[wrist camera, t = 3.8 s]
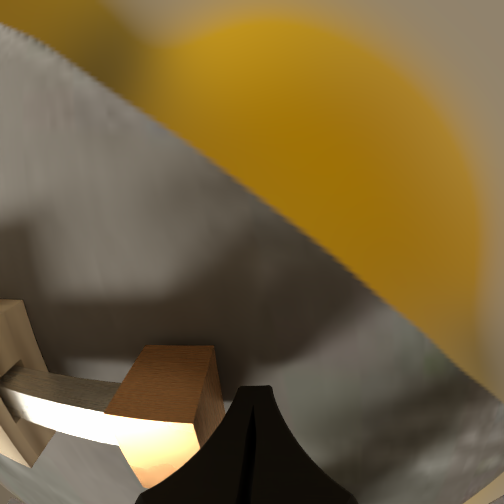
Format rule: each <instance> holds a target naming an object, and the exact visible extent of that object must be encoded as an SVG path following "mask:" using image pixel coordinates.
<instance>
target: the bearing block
mask: <svg viewBox="0 0 504 504" xmlns="http://www.w3.org/2000/svg"><path fill="white" fill-rule="evenodd" d="M13 365H17V366H21V367H26V368H30V369H35V370H40V371H44V372H48V370H47V367H46V365H45V362H44V360H43V358H42V355H41V352H40V350H39V347H38V345H37V342H36V339H35V336H34V334H33V331H32V328H31V325H30V322H29V319H28V316H27V312H26V309H25V306H24V302H23V300H11V299H0V378H1V377H2V376H3V375H4V374H5V373H6V372H7V371H8V370H9V369H10V368H11V367H12V366H13ZM56 431H57V430H54V429H51V428H48V427H44V426H41V425H38V424H35V423H32V422H30V421H27V420H24V419H21V418H19V417H16V416H14V415H11V414H10V413H9V412H8V410H7V408H6V406H5V405H4V403H3V401H2V399H1V397H0V453H1V454H3V455H5V456H7V457H9V458H11V459H13V460H15V461H17V462H19V463H21V464H23V465H25V466H27V467H29V468H32V466H33V465H34V463H35V462H36V460H37V459H38V457H39V456H40V454H41V453H42V451H43V450H44V448H45V447H46V445H47V444H48V442H49V441H50V440H51V438H52V437H53V435H54V434H55V432H56Z"/></svg>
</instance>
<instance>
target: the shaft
mask: <svg viewBox="0 0 504 504" xmlns="http://www.w3.org/2000/svg"><path fill="white" fill-rule="evenodd" d="M0 397H1V399H2V401H3V403H4V405H5V406H6V408H7V410H8V412H9V413H10V414H11V415H14V416H16V417H19V418H21V419H24V420H27V421H30V422H32V423H35V424H38V425H41V426H44V427H48V428H51V429H54V430H57V431H61V432H64V433H68V434H71V435H75V436H79V437H83V438H87V439H91V440H95V441H100V442H104V443H109V444H114V445H119V446H120V448H121V450H122V452H123V454H124V455H125V457H126V459H127V461H128V463H129V464H130V466H131V468H132V469H133V471H134V473H135V474H136V476H137V478H138V479H139V481H140V482H141V484H142V486H143V487H145V488H151V487H153V486H155V485H156V484H158V483H160V482H161V481H163V480H164V479H166V478H167V477H168V476H170V475H171V474H172V473H174V472H175V471H176V470H178V469H179V468H180V467H181V466H183V465H184V464H185V463H186V462H187V461H188V460H189V459H190V458H191V457H192V456H193V455H194V454H195V453H197V451H198V450H199V449H200V448H201V447H202V446H203V445H204V444H205V443H206V441H207V440H208V439H209V438H210V436H211V435H212V434H213V432H214V431H215V430H216V428H217V427H218V425H219V424H220V423H221V421H222V419H223V418H224V416H225V409H224V403H223V398H222V392H221V387H220V381H219V375H218V369H217V363H216V356H215V350H214V345H209V346H168V345H145V347H144V348H143V350H142V351H141V353H140V355H139V356H138V358H137V359H136V361H135V362H134V364H133V366H132V367H131V369H130V370H129V372H128V374H127V375H126V377H125V379H124V380H123V382H122V383H116V382H108V381H100V380H92V379H85V378H78V377H72V376H66V375H60V374H55V373H50V372H44V371H40V370H35V369H30V368H26V367H21V366H17V365H13V366H12V367H11V368H10V369H9V370H8V371H7V372H6V373H5V374H4V375H3V376H2V377H1V378H0Z"/></svg>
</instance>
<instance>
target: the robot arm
mask: <svg viewBox="0 0 504 504" xmlns="http://www.w3.org/2000/svg"><path fill="white" fill-rule="evenodd" d="M7 504H24V503H22V502H20V501H19V500H16V499H15V498H13V497H11V498H10V500H9V501H8V503H7ZM135 504H358V502H357V501H356V499H355V497H354V496H353V495H352V494H351V493H349V492H348V491H347V490H345V489H344V488H342V487H341V486H340V485H339V484H337V483H336V482H335V481H334V480H332V479H331V478H330V477H329V476H328V475H327V474H325V473H324V472H323V471H322V470H321V469H320V468H319V467H318V466H317V465H316V464H315V463H314V462H313V460H312V459H311V458H310V457H309V456H308V455H307V453H306V452H305V451H304V450H303V449H302V447H301V446H300V445H299V443H298V442H297V440H296V439H295V437H294V436H293V434H292V433H291V431H290V430H289V428H288V426H287V424H286V423H285V421H284V419H283V417H282V415H281V413H280V411H279V408H278V406H277V403H276V401H275V398H274V394H273V389H272V387H271V386H270V385H266V386H241V387H239V388H238V391H237V393H236V396H235V398H234V400H233V402H232V404H231V406H230V408H229V409H228V411H227V413H226V414H225V416H224V418H223V419H222V421H221V423H220V424H219V425H218V427H217V428H216V430H215V431H214V432H213V434H212V435H211V436H210V438H209V439H208V440H207V441H206V443H205V444H204V445H203V446H202V447H201V448H200V449H199V450H198V451H197V453H195V454H194V455H193V456H192V457H191V458H190V459H189V460H188V461H187V462H186V463H185V464H184V465H183V466H181V467H180V468H179V469H178V470H176V471H175V472H174V473H172V474H171V475H170V476H168V477H167V478H166V479H164V480H163V481H161V482H160V483H158V484H156V485H155V486H153V487H151V488H150V489H148V490H146V491H144V492H143V493H141V494H140V495H139V497H138V498H137V500H136V502H135ZM489 504H504V495H503V496H501V497H500V498H498V499H496V500H494V501H492V502H491V503H489Z"/></svg>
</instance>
